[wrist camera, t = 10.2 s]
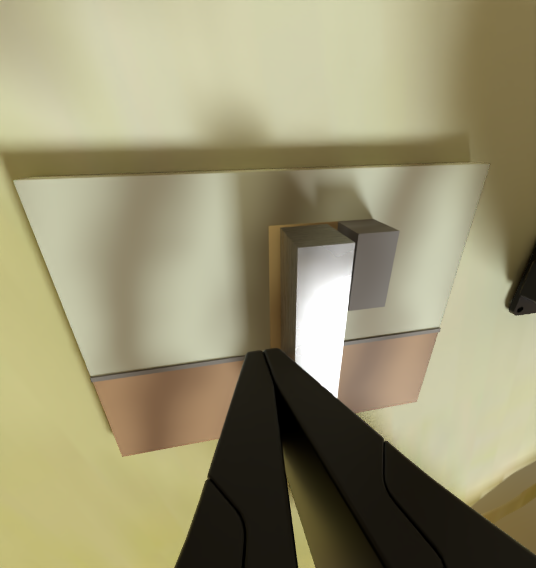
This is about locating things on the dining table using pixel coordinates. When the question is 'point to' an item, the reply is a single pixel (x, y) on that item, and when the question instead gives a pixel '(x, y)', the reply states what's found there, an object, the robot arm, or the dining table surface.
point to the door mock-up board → (243, 280)
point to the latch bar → (315, 298)
